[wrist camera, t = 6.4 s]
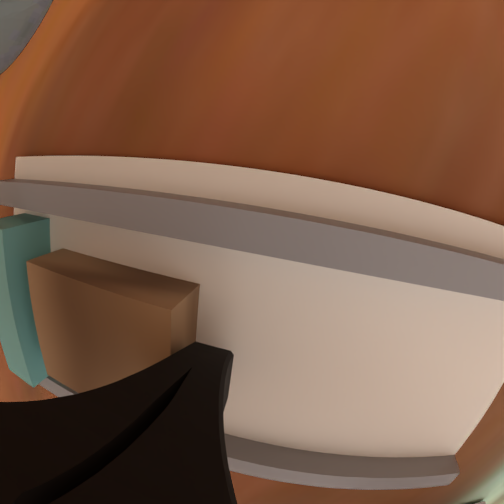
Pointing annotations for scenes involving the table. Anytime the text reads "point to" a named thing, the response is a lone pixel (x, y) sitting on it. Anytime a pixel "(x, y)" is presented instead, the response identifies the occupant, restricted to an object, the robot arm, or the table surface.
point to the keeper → (106, 317)
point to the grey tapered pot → (18, 26)
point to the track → (288, 305)
